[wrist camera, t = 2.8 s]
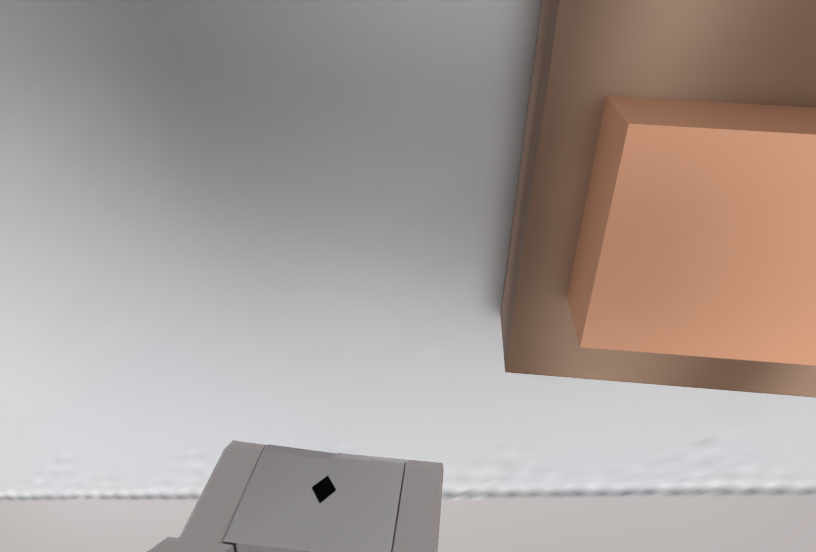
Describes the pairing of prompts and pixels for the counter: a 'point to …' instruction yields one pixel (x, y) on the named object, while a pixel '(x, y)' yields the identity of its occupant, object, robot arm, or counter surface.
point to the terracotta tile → (700, 232)
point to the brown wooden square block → (576, 144)
